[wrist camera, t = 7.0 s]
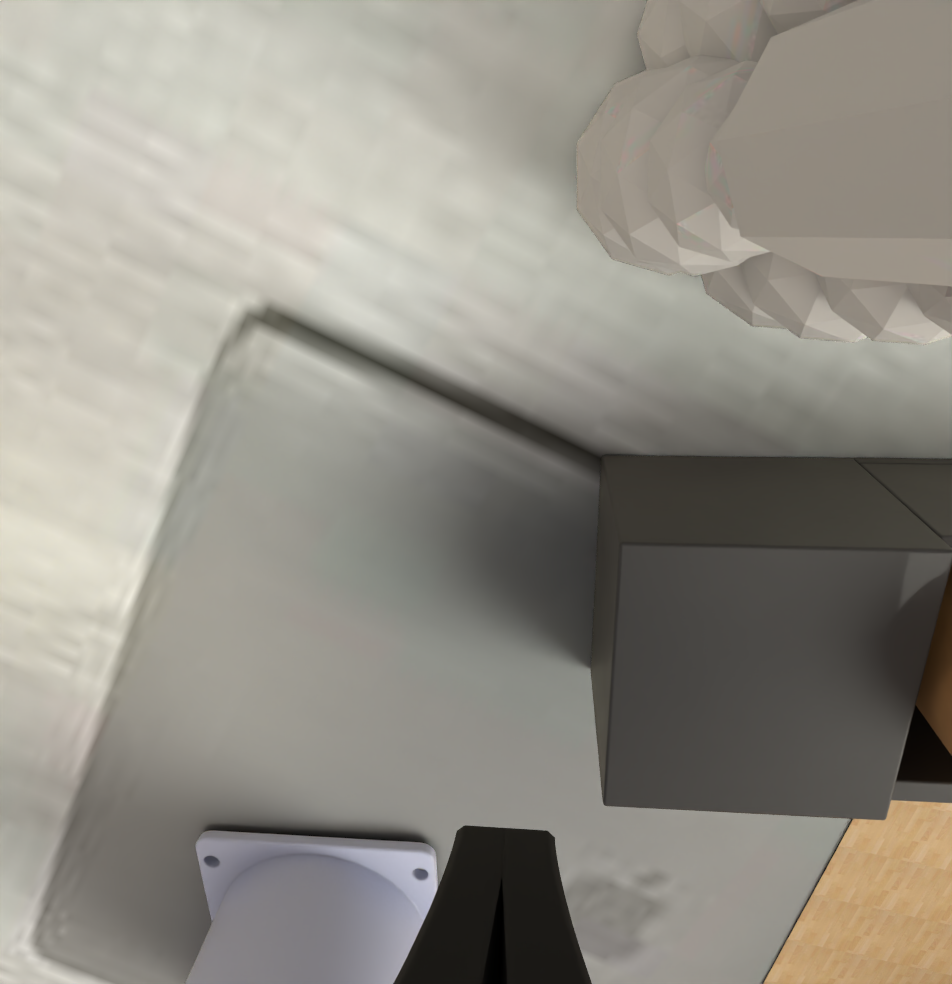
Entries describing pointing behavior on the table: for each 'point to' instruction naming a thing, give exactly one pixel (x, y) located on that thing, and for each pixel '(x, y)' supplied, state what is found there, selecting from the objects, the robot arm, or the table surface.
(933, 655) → the paper roll
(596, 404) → the table surface
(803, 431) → the table surface
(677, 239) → the rocket model
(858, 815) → the caddy
